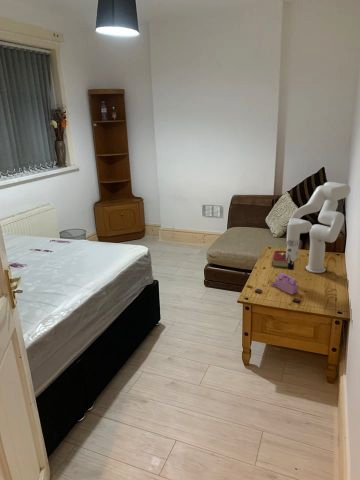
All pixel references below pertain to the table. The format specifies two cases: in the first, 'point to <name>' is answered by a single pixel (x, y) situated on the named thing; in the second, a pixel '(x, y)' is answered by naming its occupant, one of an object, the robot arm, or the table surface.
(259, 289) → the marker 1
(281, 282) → the toy telephone
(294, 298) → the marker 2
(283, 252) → the hardcover book
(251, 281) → the table surface
